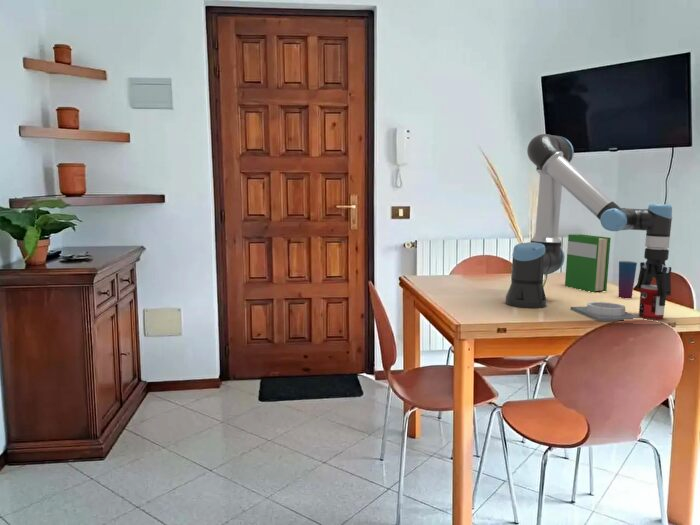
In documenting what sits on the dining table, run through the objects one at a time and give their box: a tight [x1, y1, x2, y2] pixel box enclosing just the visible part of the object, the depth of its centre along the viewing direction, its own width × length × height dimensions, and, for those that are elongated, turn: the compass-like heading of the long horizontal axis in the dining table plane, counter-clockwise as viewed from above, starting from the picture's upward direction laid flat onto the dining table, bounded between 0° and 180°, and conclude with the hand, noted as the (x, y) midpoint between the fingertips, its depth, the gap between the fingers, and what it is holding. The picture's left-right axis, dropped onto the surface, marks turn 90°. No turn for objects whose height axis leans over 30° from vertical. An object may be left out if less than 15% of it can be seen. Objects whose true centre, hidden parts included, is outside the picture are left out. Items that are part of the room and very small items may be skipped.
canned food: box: [638, 284, 666, 320], centre depth 213 cm, size 8×8×11 cm
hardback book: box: [564, 233, 611, 293], centre depth 270 cm, size 18×7×24 cm, turn 22°
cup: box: [618, 260, 638, 299], centre depth 251 cm, size 7×7×15 cm
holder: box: [569, 301, 643, 322], centre depth 215 cm, size 16×20×4 cm
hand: (651, 312), depth 213 cm, fingers closed on canned food, 8 cm apart
